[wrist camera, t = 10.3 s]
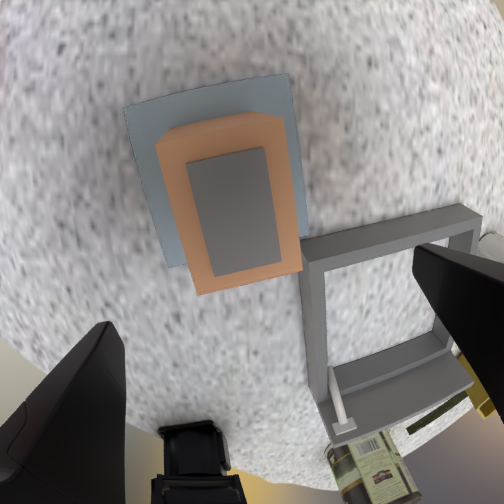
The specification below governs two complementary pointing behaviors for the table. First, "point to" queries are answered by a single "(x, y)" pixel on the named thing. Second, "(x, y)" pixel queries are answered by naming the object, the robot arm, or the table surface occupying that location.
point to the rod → (437, 412)
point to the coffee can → (372, 472)
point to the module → (232, 199)
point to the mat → (200, 109)
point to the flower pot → (477, 392)
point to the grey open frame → (393, 359)
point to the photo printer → (491, 247)
